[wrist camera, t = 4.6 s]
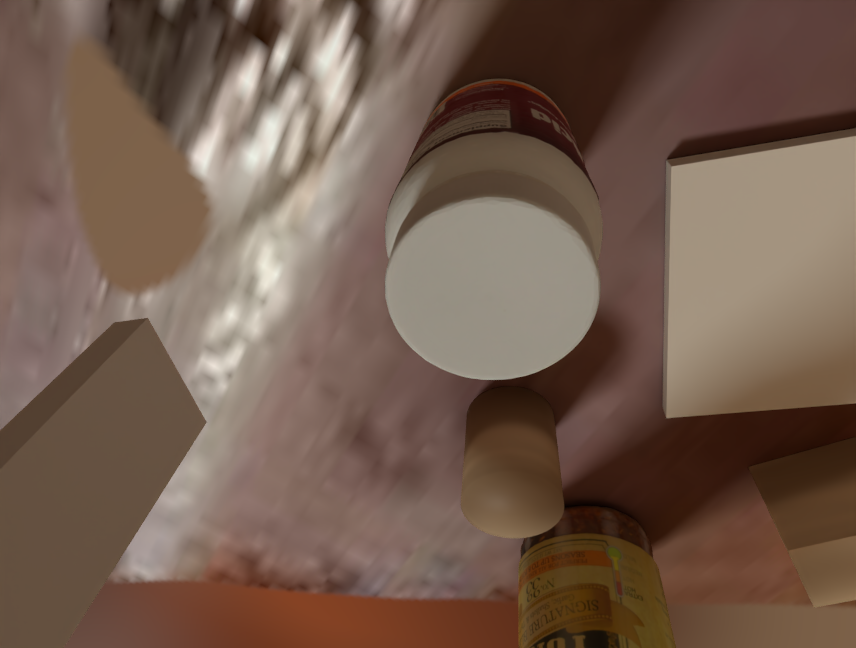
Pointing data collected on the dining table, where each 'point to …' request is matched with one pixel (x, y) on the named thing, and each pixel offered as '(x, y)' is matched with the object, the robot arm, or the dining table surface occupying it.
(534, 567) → the sauce bottle
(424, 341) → the pill bottle
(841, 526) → the beech block
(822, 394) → the tile
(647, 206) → the dining table surface
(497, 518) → the cork
